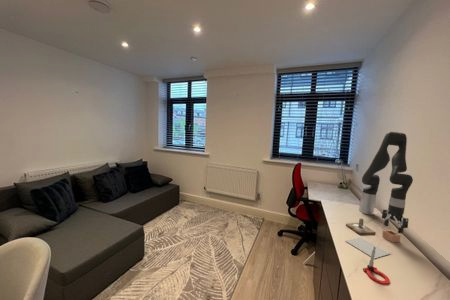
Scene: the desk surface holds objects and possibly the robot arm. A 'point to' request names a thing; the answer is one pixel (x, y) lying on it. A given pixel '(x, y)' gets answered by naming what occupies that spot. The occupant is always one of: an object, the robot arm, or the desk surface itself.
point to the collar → (391, 236)
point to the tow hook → (375, 270)
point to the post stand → (360, 228)
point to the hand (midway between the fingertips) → (392, 229)
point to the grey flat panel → (367, 247)
